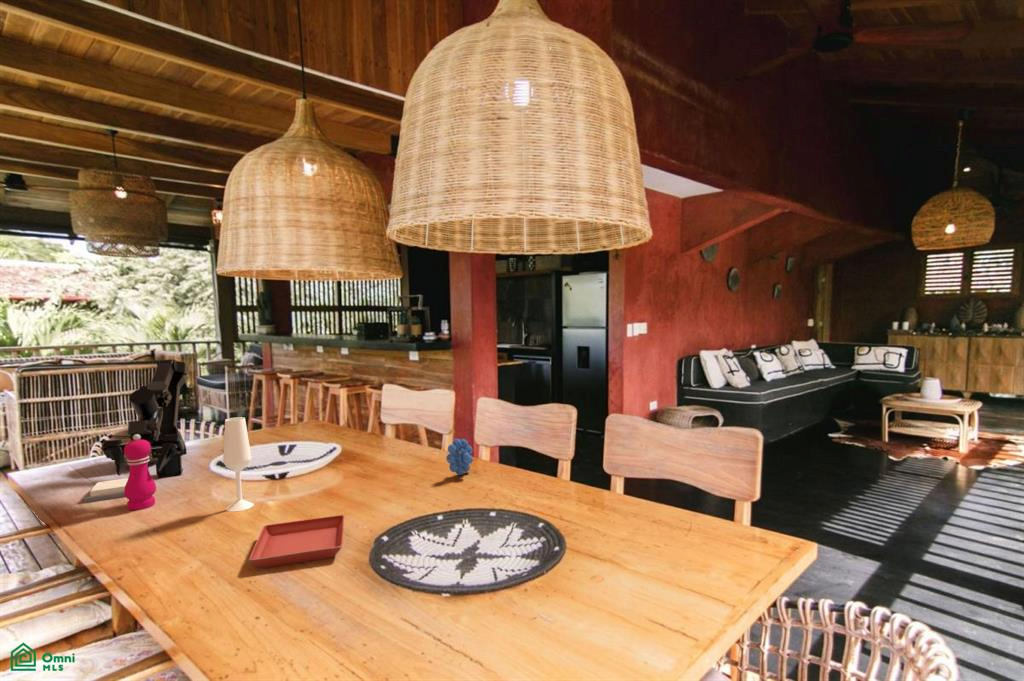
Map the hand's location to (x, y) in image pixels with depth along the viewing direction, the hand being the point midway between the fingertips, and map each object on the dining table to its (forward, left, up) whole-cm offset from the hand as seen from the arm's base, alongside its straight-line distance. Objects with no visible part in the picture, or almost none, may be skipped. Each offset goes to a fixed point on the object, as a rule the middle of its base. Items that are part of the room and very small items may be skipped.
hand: (138, 472), depth 144 cm
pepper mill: (0, 0, -10) cm, 10 cm away
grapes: (-86, +22, -10) cm, 89 cm away
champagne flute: (-24, +15, -10) cm, 30 cm away
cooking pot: (+6, -50, -10) cm, 52 cm away
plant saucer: (-36, +50, -10) cm, 62 cm away
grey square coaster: (+9, -17, -9) cm, 22 cm away
